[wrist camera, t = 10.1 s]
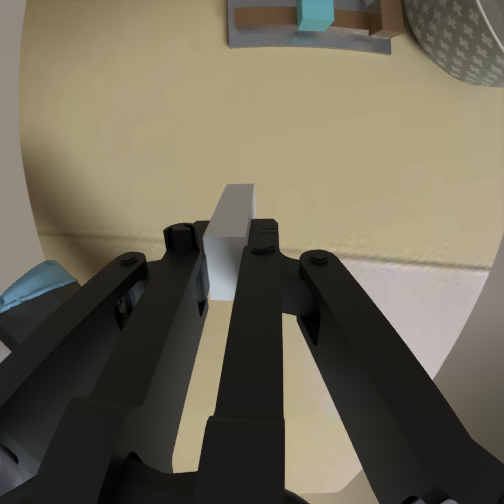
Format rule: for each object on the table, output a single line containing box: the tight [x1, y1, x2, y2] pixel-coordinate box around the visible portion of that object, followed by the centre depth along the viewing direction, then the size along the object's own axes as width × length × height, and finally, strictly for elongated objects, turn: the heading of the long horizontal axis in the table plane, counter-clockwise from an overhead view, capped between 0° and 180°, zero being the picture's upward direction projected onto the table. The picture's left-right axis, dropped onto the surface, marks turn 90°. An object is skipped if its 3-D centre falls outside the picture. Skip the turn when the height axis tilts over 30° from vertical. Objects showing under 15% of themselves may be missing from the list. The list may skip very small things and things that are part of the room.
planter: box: [404, 0, 504, 88], centre depth 19 cm, size 19×19×18 cm
